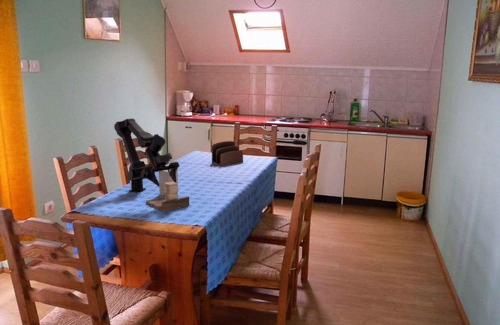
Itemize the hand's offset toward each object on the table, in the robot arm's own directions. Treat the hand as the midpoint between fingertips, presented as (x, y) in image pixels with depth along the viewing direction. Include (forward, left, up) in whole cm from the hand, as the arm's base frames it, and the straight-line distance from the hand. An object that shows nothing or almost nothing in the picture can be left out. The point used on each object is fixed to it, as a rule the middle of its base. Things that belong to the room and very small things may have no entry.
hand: (167, 184), depth 202 cm
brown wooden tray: (0, -1, -10) cm, 10 cm away
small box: (-16, -8, -10) cm, 21 cm away
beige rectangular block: (+2, +3, -9) cm, 9 cm away
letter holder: (-92, -3, -10) cm, 92 cm away
